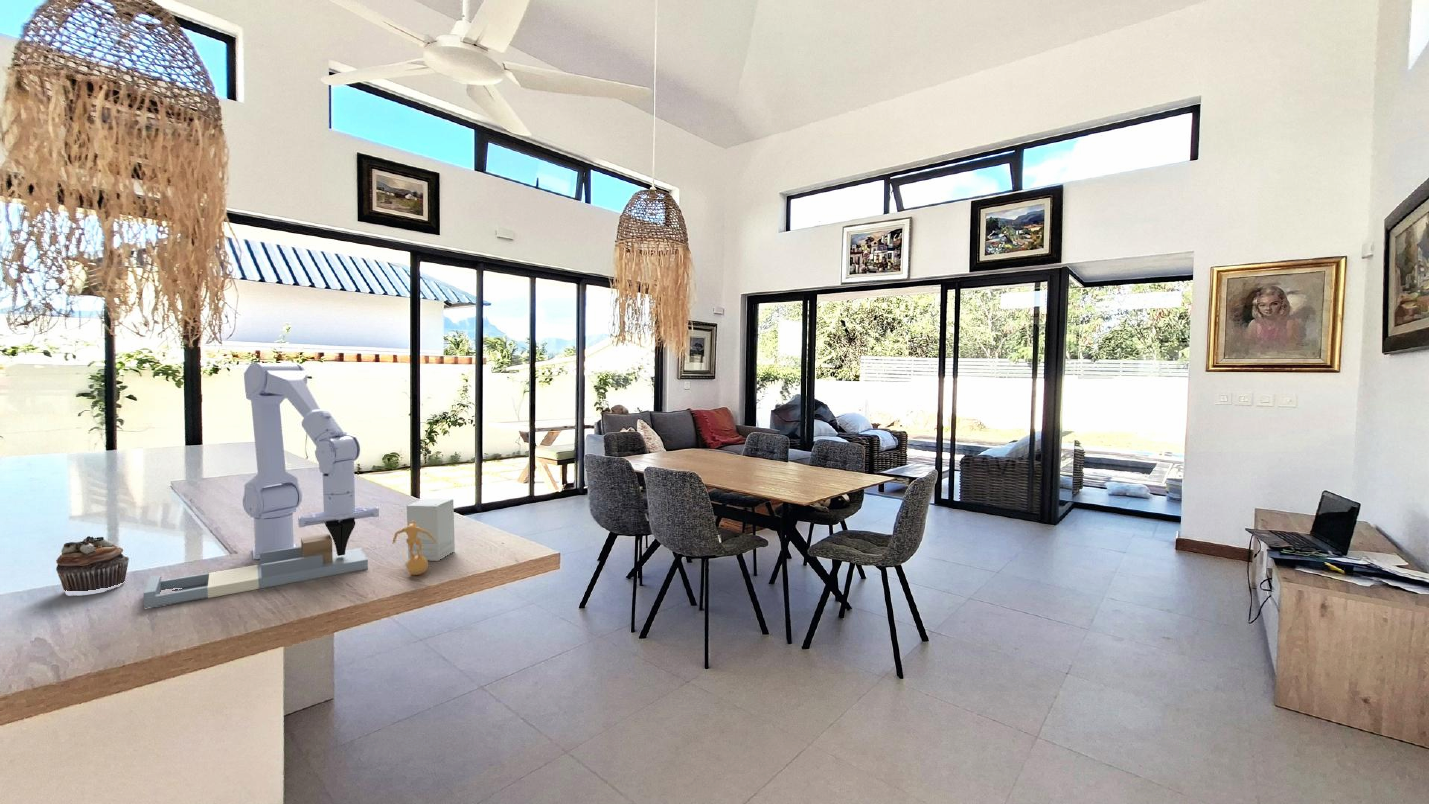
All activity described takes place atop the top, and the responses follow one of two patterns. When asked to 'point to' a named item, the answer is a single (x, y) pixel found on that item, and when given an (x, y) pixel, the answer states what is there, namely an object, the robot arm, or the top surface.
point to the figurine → (418, 562)
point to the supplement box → (433, 527)
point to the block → (317, 547)
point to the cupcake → (91, 565)
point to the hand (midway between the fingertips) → (340, 554)
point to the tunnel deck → (252, 576)
